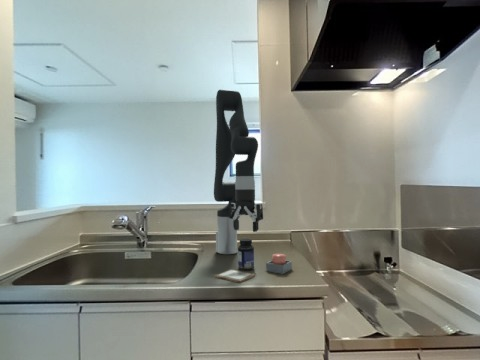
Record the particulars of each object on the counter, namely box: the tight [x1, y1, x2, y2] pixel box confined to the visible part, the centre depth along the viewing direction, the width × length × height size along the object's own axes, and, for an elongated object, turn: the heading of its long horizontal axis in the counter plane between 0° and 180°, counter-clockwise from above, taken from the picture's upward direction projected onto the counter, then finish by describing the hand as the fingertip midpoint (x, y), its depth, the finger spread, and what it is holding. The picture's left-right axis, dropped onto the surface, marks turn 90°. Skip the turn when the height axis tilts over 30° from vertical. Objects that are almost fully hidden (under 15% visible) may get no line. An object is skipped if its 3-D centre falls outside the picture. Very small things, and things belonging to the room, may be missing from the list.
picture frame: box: [214, 268, 256, 284], centre depth 103 cm, size 11×9×1 cm
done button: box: [271, 253, 287, 265], centre depth 110 cm, size 5×5×4 cm
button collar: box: [265, 259, 293, 275], centre depth 110 cm, size 7×7×3 cm
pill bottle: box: [237, 238, 255, 271], centre depth 112 cm, size 6×6×11 cm
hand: (245, 230), depth 112 cm, fingers open, 8 cm apart
